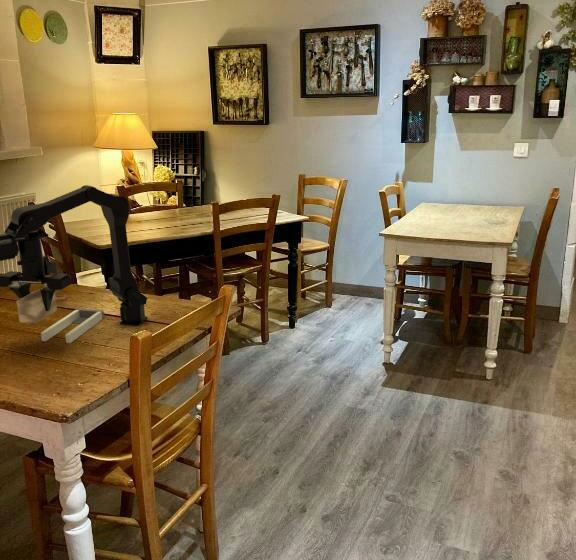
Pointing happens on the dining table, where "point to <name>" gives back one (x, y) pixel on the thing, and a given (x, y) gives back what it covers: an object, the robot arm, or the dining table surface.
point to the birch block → (34, 307)
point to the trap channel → (76, 317)
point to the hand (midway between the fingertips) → (39, 310)
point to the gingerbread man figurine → (59, 297)
